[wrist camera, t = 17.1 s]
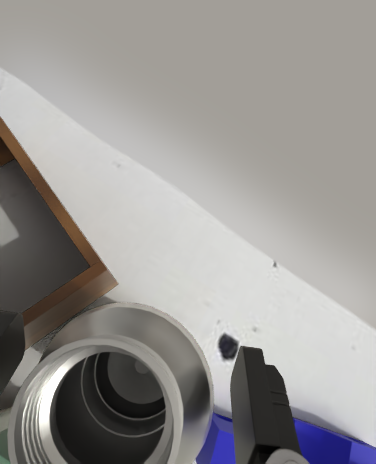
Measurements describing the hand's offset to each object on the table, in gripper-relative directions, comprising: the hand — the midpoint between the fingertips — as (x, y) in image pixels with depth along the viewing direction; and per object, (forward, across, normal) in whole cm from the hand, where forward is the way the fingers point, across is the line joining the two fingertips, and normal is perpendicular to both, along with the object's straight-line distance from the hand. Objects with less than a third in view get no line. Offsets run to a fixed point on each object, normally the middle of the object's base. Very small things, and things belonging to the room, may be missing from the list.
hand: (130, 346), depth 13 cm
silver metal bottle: (+10, 0, +12) cm, 15 cm away
